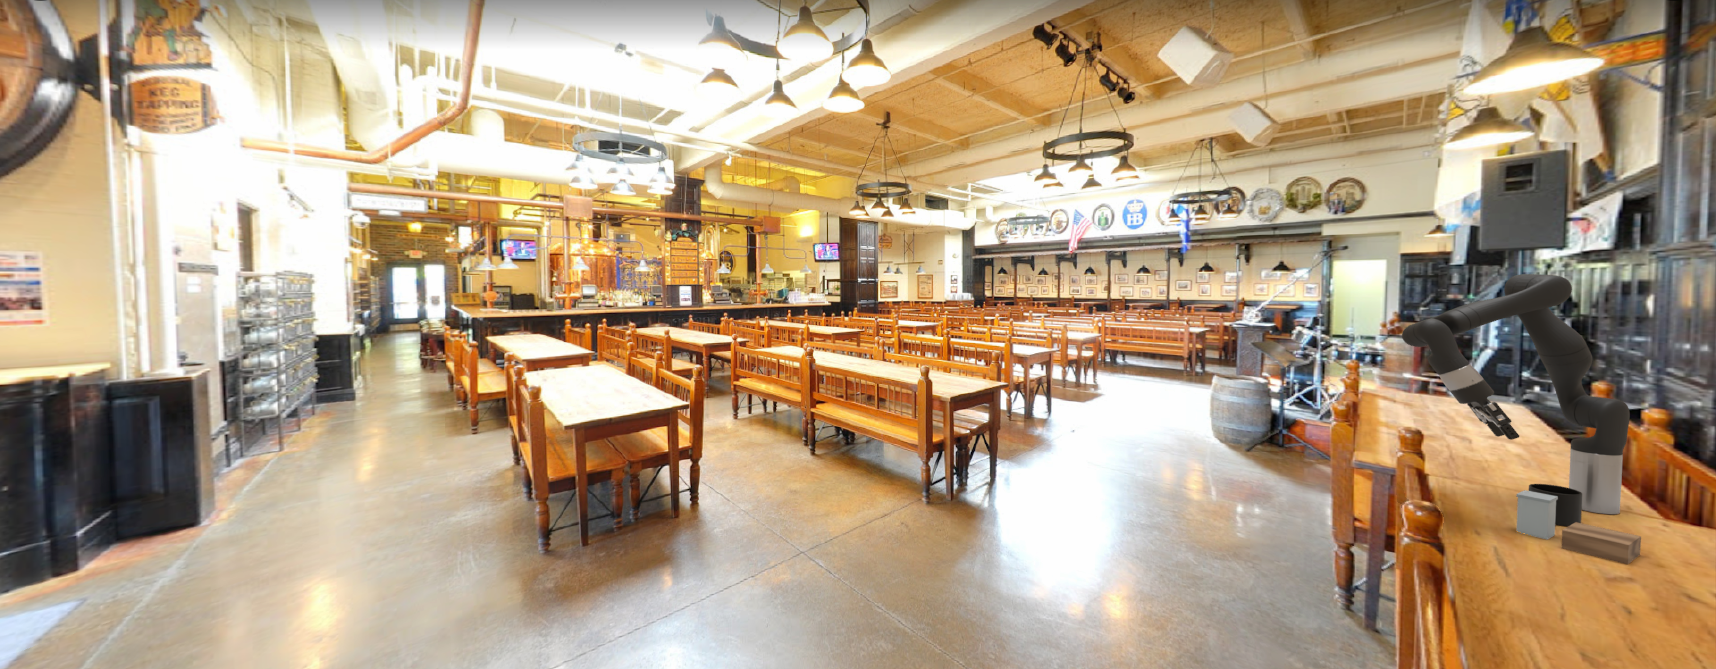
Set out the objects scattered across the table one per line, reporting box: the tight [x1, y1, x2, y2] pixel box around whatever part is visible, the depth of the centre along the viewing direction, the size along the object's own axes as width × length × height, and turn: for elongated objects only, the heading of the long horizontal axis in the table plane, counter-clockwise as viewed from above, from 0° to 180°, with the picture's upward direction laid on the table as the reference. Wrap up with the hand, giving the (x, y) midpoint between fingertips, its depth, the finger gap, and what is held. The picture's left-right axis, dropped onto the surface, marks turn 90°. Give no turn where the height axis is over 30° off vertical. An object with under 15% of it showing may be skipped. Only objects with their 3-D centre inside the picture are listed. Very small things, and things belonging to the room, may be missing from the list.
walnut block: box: [1560, 522, 1642, 565], centre depth 138 cm, size 10×10×5 cm
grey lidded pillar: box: [1516, 490, 1558, 540], centre depth 149 cm, size 6×6×11 cm
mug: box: [1528, 483, 1583, 527], centre depth 158 cm, size 9×12×9 cm
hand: (1508, 436), depth 152 cm, fingers open, 8 cm apart
